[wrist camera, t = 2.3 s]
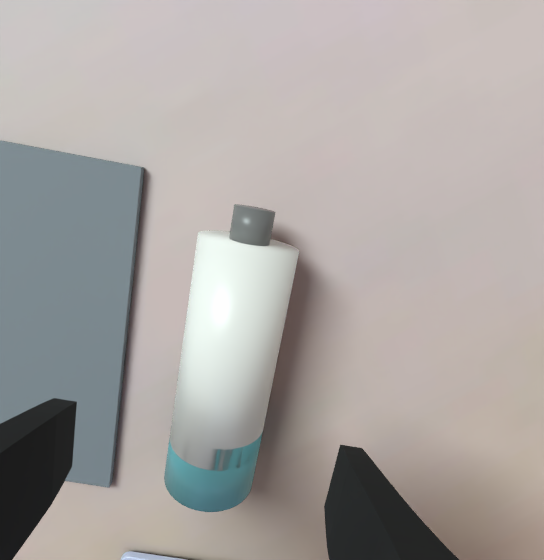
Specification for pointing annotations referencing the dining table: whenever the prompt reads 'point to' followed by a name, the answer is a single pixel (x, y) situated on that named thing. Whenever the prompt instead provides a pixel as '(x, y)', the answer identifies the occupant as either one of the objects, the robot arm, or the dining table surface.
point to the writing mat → (67, 291)
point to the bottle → (228, 360)
